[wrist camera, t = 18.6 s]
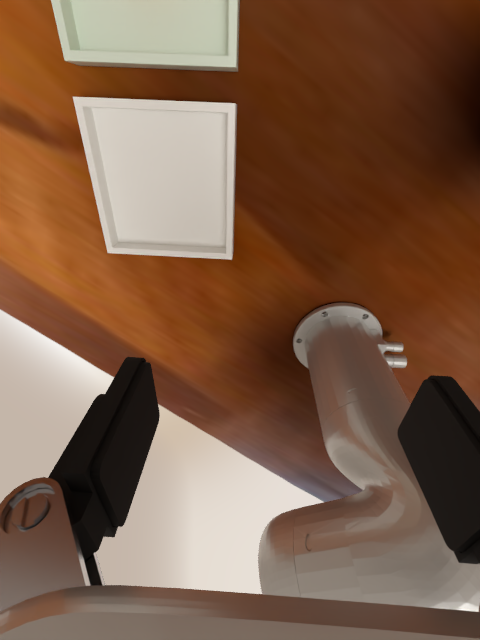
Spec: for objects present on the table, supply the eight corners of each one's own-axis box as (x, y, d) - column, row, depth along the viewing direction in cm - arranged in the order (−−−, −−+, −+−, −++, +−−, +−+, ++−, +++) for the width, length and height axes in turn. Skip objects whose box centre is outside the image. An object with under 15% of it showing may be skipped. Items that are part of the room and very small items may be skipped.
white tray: (237, 104, 29) (235, 103, 27) (233, 251, 37) (232, 259, 35) (86, 98, 29) (72, 96, 27) (116, 245, 37) (107, 252, 35)
